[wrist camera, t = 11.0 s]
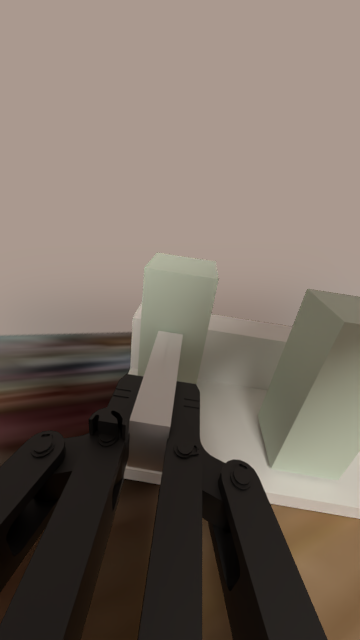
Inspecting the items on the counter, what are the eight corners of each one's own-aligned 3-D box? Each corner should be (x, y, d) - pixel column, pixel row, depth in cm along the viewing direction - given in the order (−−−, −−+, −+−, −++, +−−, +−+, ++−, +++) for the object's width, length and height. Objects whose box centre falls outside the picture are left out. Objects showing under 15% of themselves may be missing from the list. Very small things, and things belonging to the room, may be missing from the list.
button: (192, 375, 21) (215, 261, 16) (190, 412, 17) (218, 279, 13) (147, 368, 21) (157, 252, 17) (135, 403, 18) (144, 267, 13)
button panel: (387, 397, 24) (423, 347, 21) (525, 547, 14) (628, 486, 11) (138, 357, 24) (141, 302, 22) (90, 472, 14) (85, 397, 11)
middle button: (311, 424, 18) (380, 299, 13) (338, 480, 14) (443, 337, 10) (257, 415, 18) (307, 288, 13) (270, 469, 14) (344, 321, 10)
